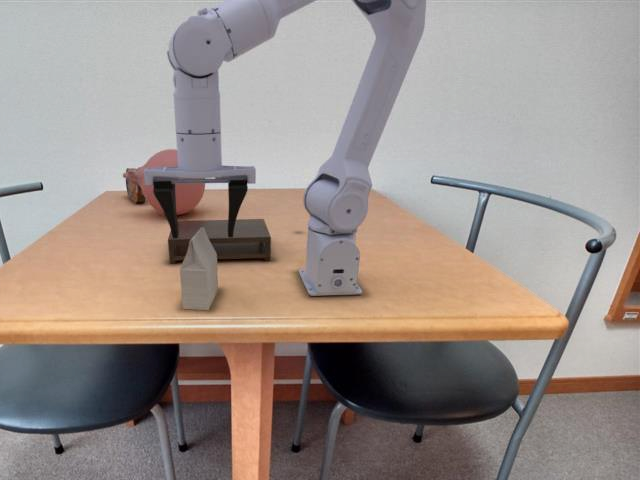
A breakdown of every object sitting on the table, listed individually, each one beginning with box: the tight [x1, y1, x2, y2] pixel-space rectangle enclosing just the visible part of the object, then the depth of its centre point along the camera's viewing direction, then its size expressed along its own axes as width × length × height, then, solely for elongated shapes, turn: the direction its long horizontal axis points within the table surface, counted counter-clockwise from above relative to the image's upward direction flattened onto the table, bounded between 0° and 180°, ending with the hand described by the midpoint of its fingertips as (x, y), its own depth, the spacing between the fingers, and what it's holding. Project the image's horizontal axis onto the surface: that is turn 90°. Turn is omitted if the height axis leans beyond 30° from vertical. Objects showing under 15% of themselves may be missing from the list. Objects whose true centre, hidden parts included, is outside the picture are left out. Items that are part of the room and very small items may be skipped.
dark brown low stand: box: [167, 218, 272, 265], centre depth 82 cm, size 12×18×4 cm, turn 93°
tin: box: [125, 167, 147, 204], centre depth 121 cm, size 15×3×8 cm, turn 25°
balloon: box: [122, 148, 206, 216], centre depth 105 cm, size 15×20×15 cm
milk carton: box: [179, 227, 219, 311], centre depth 62 cm, size 4×7×10 cm, turn 171°
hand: (203, 235), depth 61 cm, fingers open, 7 cm apart
